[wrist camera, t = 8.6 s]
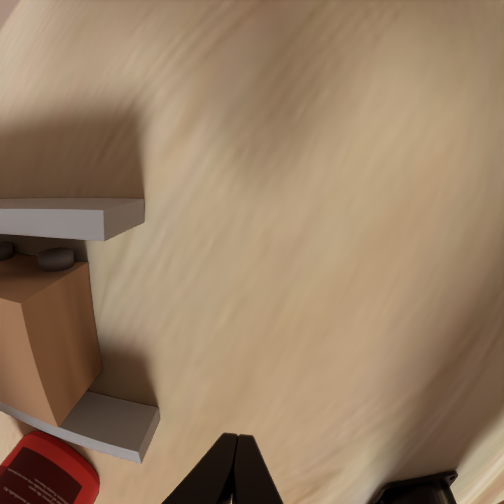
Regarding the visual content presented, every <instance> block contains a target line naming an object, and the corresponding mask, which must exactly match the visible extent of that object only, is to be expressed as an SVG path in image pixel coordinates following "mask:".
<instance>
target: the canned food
mask: <svg viewBox="0 0 504 504" xmlns="http://www.w3.org/2000/svg"><path fill="white" fill-rule="evenodd" d="M99 486H100V481H99V478H98V475H97V473H96V472H95V471H94V469H93V468H92V466H91V465H90V464H89V463H88V462H87V461H86V460H85V459H84V458H83V457H82V456H81V455H80V454H79V453H77V452H76V451H75V450H74V449H72V448H71V447H70V446H68V445H67V444H65V443H64V442H62V441H61V440H59V439H57V438H55V437H53V436H51V435H49V434H46V433H43V432H39V431H33V432H30V433H28V434H27V435H25V436H23V438H22V439H21V440H20V441H19V442H18V444H17V445H16V446H15V447H14V449H13V450H12V451H11V452H10V454H9V455H8V456H7V457H6V459H5V460H4V461H3V463H2V464H1V465H0V504H94V502H95V500H96V498H97V495H98V493H99Z"/></svg>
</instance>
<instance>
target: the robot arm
mask: <svg viewBox="0 0 504 504" xmlns="http://www.w3.org/2000/svg"><path fill="white" fill-rule="evenodd" d="M457 477H458V474H457V471H451V472H447V473H443V474H438V475H434V476H429V477H425V478H419V479H414V480H409V481H403V482H396V483H390V484H387V485H386V486H384V487H383V488H382V490H381V492H380V493H379V495H378V496H377V498H376V499H375V501H374V502H373V504H457V503H456V501H455V498H454V496H453V494H452V491H451V489H450V486H451V484H452V483H453V482H454V481H455V479H456V478H457ZM231 499H232V504H283V501H282V499H281V497H280V495H279V493H278V491H277V488H276V486H275V484H274V482H273V480H272V477H271V475H270V473H269V471H268V468H267V466H266V464H265V462H264V459H263V457H262V455H261V452H260V450H259V448H258V445H257V443H256V441H255V438H254V437H253V436H252V435H244V434H240V435H239V436H238V435H237V434H234V433H223V434H222V435H221V436H220V437H219V438H218V440H217V441H216V442H215V443H214V444H213V446H212V447H211V448H210V449H209V450H208V452H207V453H206V454H205V455H204V456H203V458H202V459H201V460H200V461H199V462H198V463H197V465H196V466H195V467H194V468H193V469H192V470H191V471H190V473H189V474H188V475H187V476H186V477H185V478H184V479H183V481H182V482H181V483H180V484H179V485H178V486H177V487H176V488H175V489H174V491H173V492H172V493H171V494H170V495H169V496H168V497H167V498H166V499H165V500H164V501H163V502H162V503H161V504H231Z"/></svg>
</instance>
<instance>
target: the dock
mask: <svg viewBox="0 0 504 504" xmlns="http://www.w3.org/2000/svg"><path fill="white" fill-rule="evenodd" d="M142 223H144V199H139V198H12V199H0V234H12V235H26V236H40V237H53V238H67V239H81V240H94V241H106V240H108V239H110V238H112V237H114V236H116V235H118V234H120V233H123V232H125V231H127V230H129V229H131V228H133V227H135V226H138V225H140V224H142ZM0 411H2V412H4V413H6V414H8V415H10V416H12V417H14V418H16V419H18V420H20V421H22V422H24V423H26V424H29V425H31V426H33V427H35V428H38V429H40V430H42V431H44V432H47V433H49V434H52V435H54V436H57V437H59V438H62V439H64V440H67V441H69V442H72V443H75V444H78V445H80V446H83V447H86V448H89V449H92V450H95V451H98V452H101V453H105V454H108V455H111V456H115V457H118V458H122V459H125V460H129V461H133V462H136V463H140V464H142V461H143V459H144V456H145V454H146V452H147V449H148V447H149V445H150V442H151V440H152V438H153V435H154V433H155V431H156V428H157V426H158V424H159V421H160V415H159V409H158V407H154V406H149V405H144V404H140V403H135V402H131V401H126V400H122V399H118V398H114V397H110V396H106V395H102V394H98V393H94V392H91V391H87V390H86V392H85V393H84V394H83V396H82V397H81V398H80V399H79V401H78V402H77V403H76V405H75V406H74V407H73V409H72V410H71V411H70V413H69V414H68V415H67V417H66V418H65V419H64V421H63V422H62V423H61V425H60V426H59V428H58V427H55V426H53V425H50V424H48V423H45V422H43V421H40V420H38V419H36V418H34V417H31V416H29V415H27V414H25V413H22V412H20V411H18V410H16V409H14V408H12V407H10V406H8V405H6V404H4V403H2V402H0Z"/></svg>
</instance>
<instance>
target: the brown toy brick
mask: <svg viewBox="0 0 504 504" xmlns="http://www.w3.org/2000/svg"><path fill="white" fill-rule="evenodd" d="M102 370H103V367H102V362H101V357H100V351H99V345H98V340H97V334H96V327H95V320H94V313H93V306H92V298H91V289H90V279H89V268H88V263H87V262H78V261H74V254H73V250H72V249H69V248H52V249H47V250H44V251H41V252H39V253H38V255H37V256H30V255H22V254H15V253H13V247H12V243H10V242H0V402H2V403H4V404H6V405H8V406H10V407H12V408H14V409H16V410H18V411H20V412H22V413H25V414H27V415H29V416H31V417H34V418H36V419H38V420H40V421H43V422H45V423H48V424H50V425H53V426H55V427H58V428H59V426H60V425H61V423H62V422H63V421H64V419H65V418H66V417H67V415H68V414H69V413H70V411H71V410H72V409H73V407H74V406H75V405H76V403H77V402H78V401H79V399H80V398H81V397H82V396H83V394H84V393H85V392H86V390H87V389H88V388H89V387H91V385H92V384H93V381H94V380H95V379H96V377H97V376H98V375H99V373H100V372H101V371H102Z"/></svg>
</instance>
